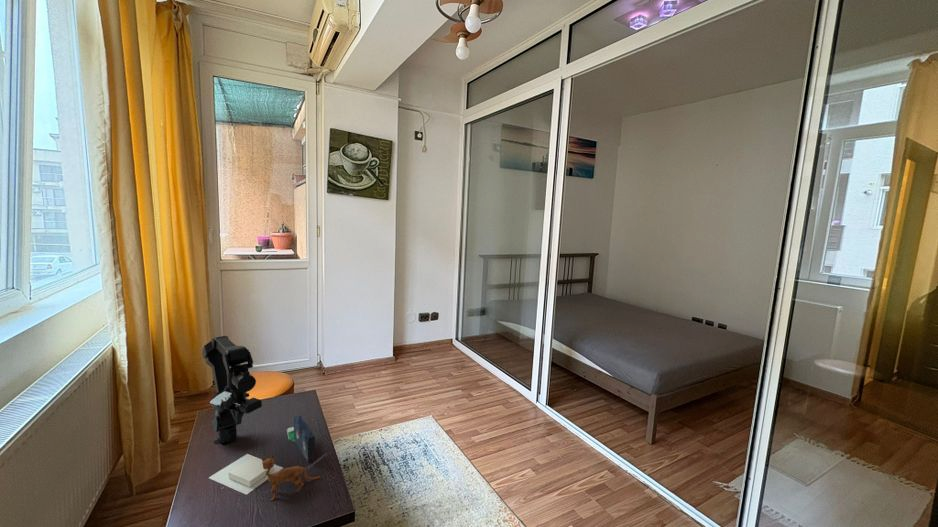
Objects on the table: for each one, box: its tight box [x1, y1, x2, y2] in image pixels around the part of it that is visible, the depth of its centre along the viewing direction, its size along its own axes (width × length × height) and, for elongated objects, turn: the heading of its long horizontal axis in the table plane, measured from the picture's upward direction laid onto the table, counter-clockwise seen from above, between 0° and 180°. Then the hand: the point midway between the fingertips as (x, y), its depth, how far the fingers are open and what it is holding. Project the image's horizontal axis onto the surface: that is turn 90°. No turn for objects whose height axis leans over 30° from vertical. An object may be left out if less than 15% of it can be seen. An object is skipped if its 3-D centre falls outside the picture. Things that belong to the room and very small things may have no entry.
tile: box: [228, 456, 274, 487], centre depth 124 cm, size 2×9×10 cm
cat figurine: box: [261, 454, 321, 502], centre depth 119 cm, size 18×7×14 cm, turn 128°
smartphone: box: [286, 426, 296, 443], centre depth 148 cm, size 7×1×15 cm
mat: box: [208, 453, 284, 496], centre depth 125 cm, size 18×14×1 cm
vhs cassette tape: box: [293, 414, 316, 463], centre depth 139 cm, size 18×3×10 cm, turn 39°
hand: (237, 422), depth 133 cm, fingers closed
